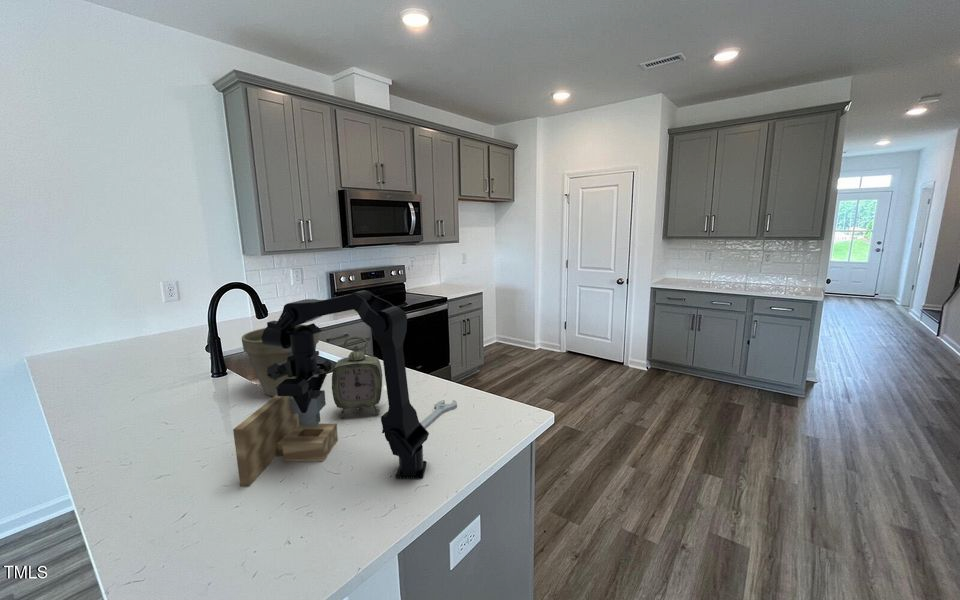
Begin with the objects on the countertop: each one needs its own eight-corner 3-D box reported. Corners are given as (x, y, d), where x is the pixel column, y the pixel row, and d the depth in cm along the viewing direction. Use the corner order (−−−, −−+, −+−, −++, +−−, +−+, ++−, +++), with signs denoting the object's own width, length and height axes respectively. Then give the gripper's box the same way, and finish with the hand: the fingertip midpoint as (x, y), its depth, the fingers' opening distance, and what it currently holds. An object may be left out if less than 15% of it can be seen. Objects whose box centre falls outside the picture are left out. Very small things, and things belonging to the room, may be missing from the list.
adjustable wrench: (413, 442, 110) (412, 436, 109) (394, 436, 113) (394, 431, 112) (459, 406, 131) (459, 401, 131) (443, 402, 134) (443, 397, 134)
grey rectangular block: (318, 428, 101) (316, 398, 100) (292, 428, 101) (289, 398, 100) (326, 418, 106) (324, 390, 105) (301, 418, 106) (298, 390, 105)
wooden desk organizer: (305, 486, 90) (300, 429, 88) (240, 486, 90) (233, 429, 88) (349, 422, 120) (346, 378, 117) (300, 422, 120) (296, 378, 117)
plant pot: (252, 382, 152) (246, 327, 148) (321, 372, 162) (317, 320, 158) (243, 408, 130) (236, 344, 126) (324, 395, 139) (319, 336, 136)
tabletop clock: (334, 421, 121) (328, 341, 116) (338, 408, 130) (333, 334, 125) (383, 416, 124) (379, 339, 119) (384, 404, 132) (380, 331, 128)
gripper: (289, 339, 109) (294, 393, 112) (250, 362, 91) (257, 425, 94) (329, 339, 109) (333, 393, 112) (298, 362, 91) (304, 425, 94)
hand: (308, 407), depth 103 cm, fingers closed on grey rectangular block, 5 cm apart
